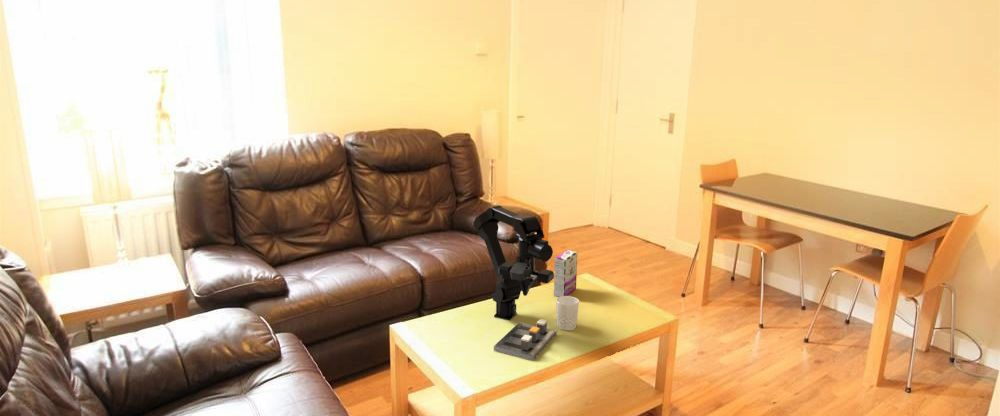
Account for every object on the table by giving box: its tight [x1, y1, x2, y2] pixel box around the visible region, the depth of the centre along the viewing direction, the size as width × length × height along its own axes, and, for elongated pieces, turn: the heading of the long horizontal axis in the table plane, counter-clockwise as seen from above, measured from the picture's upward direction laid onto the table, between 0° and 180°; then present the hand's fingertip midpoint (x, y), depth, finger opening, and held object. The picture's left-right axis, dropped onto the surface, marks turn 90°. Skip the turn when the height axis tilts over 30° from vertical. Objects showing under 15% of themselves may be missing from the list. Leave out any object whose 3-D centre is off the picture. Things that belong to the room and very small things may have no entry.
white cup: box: [555, 295, 580, 331], centre depth 212 cm, size 8×8×10 cm
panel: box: [493, 322, 557, 361], centre depth 201 cm, size 14×20×2 cm
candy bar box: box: [553, 249, 578, 298], centre depth 240 cm, size 11×5×16 cm, turn 148°
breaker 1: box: [521, 335, 532, 350], centre depth 194 cm, size 2×3×4 cm
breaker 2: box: [529, 327, 540, 342], centre depth 199 cm, size 2×3×4 cm
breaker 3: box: [536, 318, 548, 334], centre depth 205 cm, size 2×3×4 cm
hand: (525, 295), depth 210 cm, fingers closed
